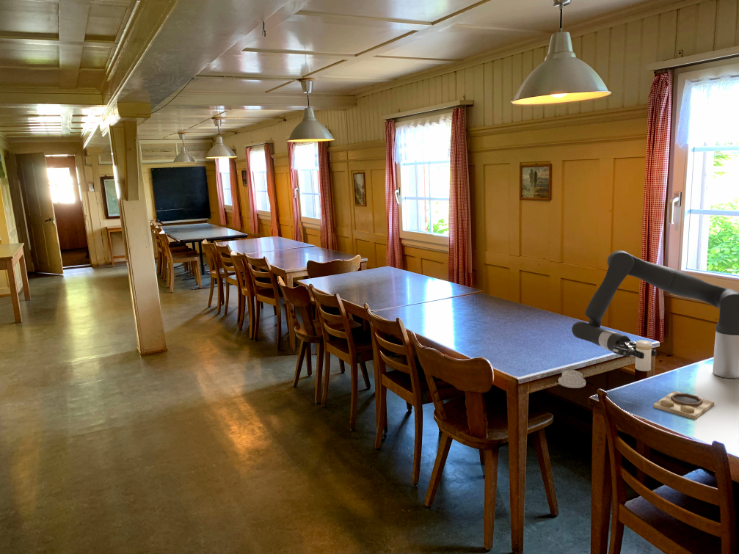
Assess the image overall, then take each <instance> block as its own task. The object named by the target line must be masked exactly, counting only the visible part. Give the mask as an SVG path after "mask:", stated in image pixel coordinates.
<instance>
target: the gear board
mask: <svg viewBox="0 0 739 554" xmlns="http://www.w3.org/2000/svg"><path fill="white" fill-rule="evenodd" d="M652 406H653V408H655V409H658V410H661V411H665V412H668V413H672V414H675V415H679V416H681V417H685V418H688V419H692V420H696V419H697V418H699V417H700V416H701V415H702V414H703V415H704V413H705V412H707V411H709V409H711V408H712V407H714V406H715V401H713V400H709V399H705V398H702V397H699V396H697V395H694V394H691V393H683V392H680V391H677V390H676V391H675V390H673V391H672V392H671V393H669V394H666V395H665V396H664V397H662V398H660V399H659V400H657V401H656V402H654V403H653V405H652Z"/></svg>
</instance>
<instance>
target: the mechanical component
mask: <svg viewBox="0 0 739 554" xmlns="http://www.w3.org/2000/svg"><path fill="white" fill-rule="evenodd" d="M583 374H584V373H582V372H580V371H577V370H576V369H575V370H573V369H569V370H568V369H567V370H566V369H565V370H563V371H562V372H561V376H559V378H558V379H557V380H558V384H559V385H560V386H562V387H566V388H569V389H571V388H572V389H581V388H584V387H585V386H586V384H587V381H586V379H585V378H583V376H584V375H583Z"/></svg>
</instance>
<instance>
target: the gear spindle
mask: <svg viewBox="0 0 739 554" xmlns="http://www.w3.org/2000/svg"><path fill="white" fill-rule="evenodd" d="M635 343H636V350H637V351H640V352H643V353H644V358H643V359H640V358H638V357H635V364H634V365H635V366H634V367H635V369H636V370H637V371H641V372H649V371H651V370H652V356H651V350H652V349H653V342H652V341H650V340H645V339H644V340H643V339H638V340H636V341H635Z"/></svg>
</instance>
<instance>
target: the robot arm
mask: <svg viewBox="0 0 739 554" xmlns="http://www.w3.org/2000/svg"><path fill="white" fill-rule="evenodd" d="M606 263H607V266H608V267H607V271H606V273H605V276H604V278H603V279H602V280H603V281H602V282H601V284H599V287H598V288H597V289H596V291H595V293H593V296H592V297H591V298H590V301H589V302H588V305H587V307H586V309H585V311H584V315H585V316H586V317H587V318H589V320H588V322H585V321H581V320H579V321H576V322H575V323H573V324H572V327H571V333H572V334H573V336H574V337H575V338H577V339H580V340H584V341H587V342H590V343H592V344H594V345H596V346H598V347H601V348H603V349H605V350H607V351H610V352H612V353H613V354H616V355H620V356H623V357H627V358H628V357H629V358H630V357H632V358H633V357H635V358H636V357H638V358H640V359H643V358H644V353H643V352H640V351H637V350H636V341H632V340H631V339H630V337H629V336H627V335H625V334H622V333H620V332H615V331H613V330H608V329H605V328H602V327H601V326H602V321H603V318H604V316H605V314H606V312H607V309H608V308H609V306H610V304H611V302H612V300H613V299H614V296H615V294H616V292H617V290H618V289H619V287H620V285H621V284H622V283H623V281H624V280H625V279H626V277H627V276H631V277H635V278H637V279H640V280H641V281H644V282H646V283H648V284H650V286H651V285H652V286H653V287H655V288H657V289H659V290H661V291H664V292H667V293H669V294H673V295H675V296H679V297H683V298H689V299H694V300H699V301H701V302H704V303H707V305H711V306H713V307H715V308H717V309H719V315H718V321H717V323H716V324H715V325H716V326H715V337H714V349H713V362H712V363H713V364H712V374H713V375H715V376H718V377H721V378H725V379H739V290H738V291H737V289H736V290H735V289H732V288H727V287H723V286H720V285H715V284H712V283H709V282H707V281H704V280H702V279H700V278H698V277H696V276H693V275H691V274H688V273H687V272H684V271H681V270H677V269H675V268H671V267H668V266H666V265H661V264H657V263H654V262H653V263H652V262H649V261H646V260H643V259H641V258H639V257H636V256H635V255H633V254H631V253H628V252H627V251H626V250H615V251H613V252H611V253H610V254H609V256H608V257H607V261H606ZM656 356H657V350H655V349H653V348H652V350H651V357H656Z"/></svg>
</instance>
